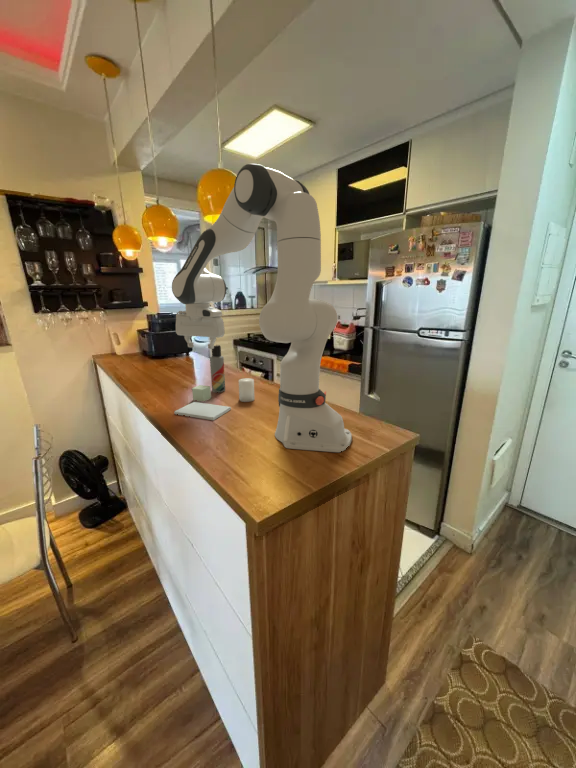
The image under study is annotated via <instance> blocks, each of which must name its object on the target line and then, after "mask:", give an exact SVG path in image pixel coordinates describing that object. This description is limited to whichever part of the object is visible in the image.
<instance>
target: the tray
mask: <svg viewBox="0 0 576 768" xmlns="http://www.w3.org/2000/svg"><path fill="white" fill-rule="evenodd" d="M231 410H232V407H231V406H227V405H220V404H219V405H218V404H211V403H205V402H200V401H193V402H191V403H189V404H187V405H185V406H183V407H180V408H179V409H176V410H174V415H177V414H178V416H183V415H185V416H184V417H189V416H190V417H189V418H197V419H203V420H208V421H210V420H211V421H215V420H216V419H219V418H220V417H221V416H223V415H225V414H226V413H228V412H229V411H231Z"/></svg>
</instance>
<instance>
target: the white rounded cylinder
mask: <svg viewBox="0 0 576 768" xmlns="http://www.w3.org/2000/svg"><path fill="white" fill-rule="evenodd" d="M238 397H239V398H238V399H239V401H240V402H243V403H249V402H253V401H254V400H255V379H254V378H248V377H247V378H245V377H244V378H240V379H238Z"/></svg>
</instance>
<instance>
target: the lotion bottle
mask: <svg viewBox="0 0 576 768" xmlns="http://www.w3.org/2000/svg"><path fill="white" fill-rule="evenodd" d="M209 363H210V364H209V365H210V367H209V368H210V379H211V392H213V393H217V392H218V393H223V391H224V392H225V391H226V379H225V378H226V377H225V376H226V374H225V358H224V355H222V347H221V345H219V344H218V345H214V349H211V356H209Z"/></svg>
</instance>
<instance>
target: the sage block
mask: <svg viewBox="0 0 576 768" xmlns="http://www.w3.org/2000/svg"><path fill="white" fill-rule="evenodd" d="M191 390H192V391H191V392H192V401H195V400H197V401H196V402H202V401H204V402H206V401H208V400H210V399H211V398H212V388H211V385H202V384H199V385H197V386H194V387H192V388H191Z"/></svg>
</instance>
